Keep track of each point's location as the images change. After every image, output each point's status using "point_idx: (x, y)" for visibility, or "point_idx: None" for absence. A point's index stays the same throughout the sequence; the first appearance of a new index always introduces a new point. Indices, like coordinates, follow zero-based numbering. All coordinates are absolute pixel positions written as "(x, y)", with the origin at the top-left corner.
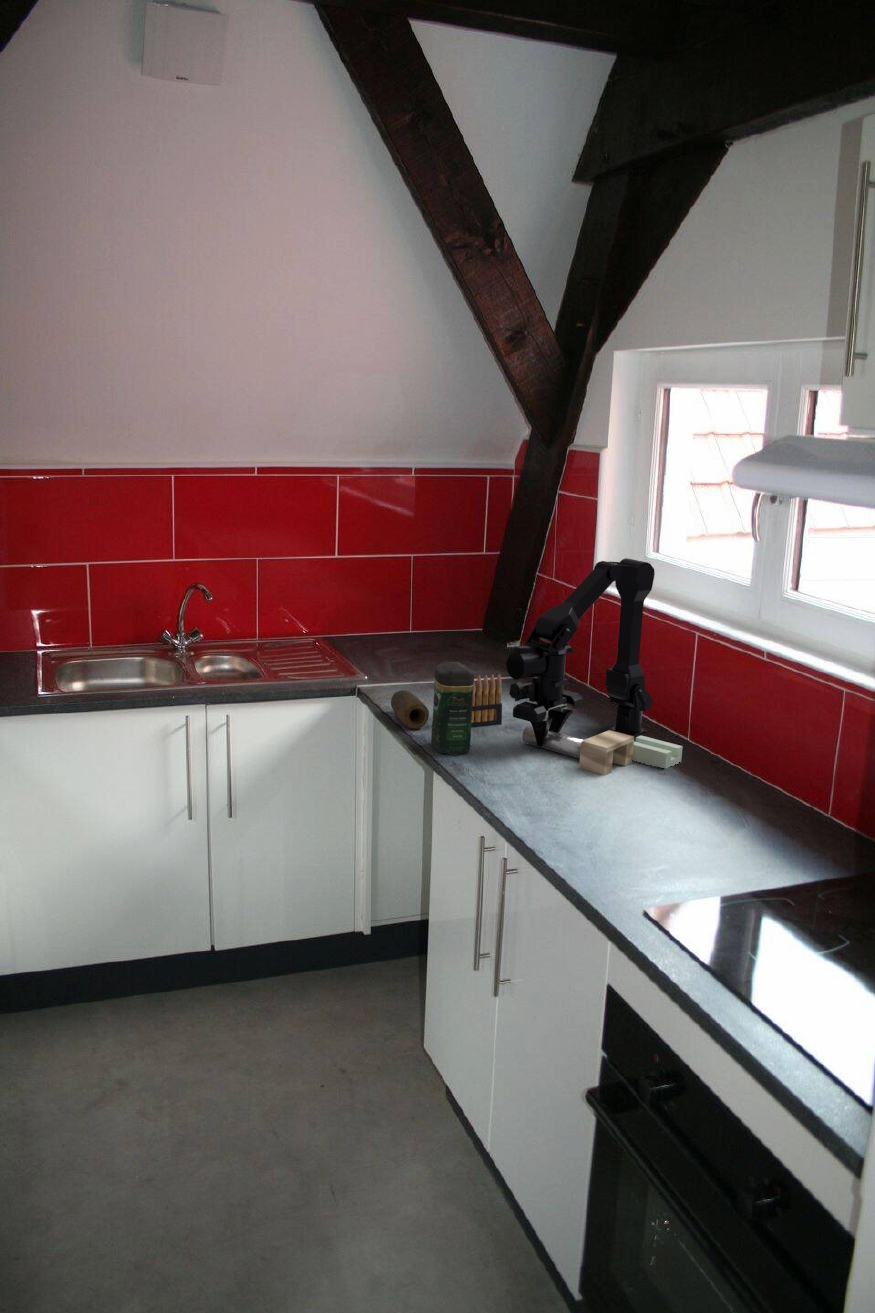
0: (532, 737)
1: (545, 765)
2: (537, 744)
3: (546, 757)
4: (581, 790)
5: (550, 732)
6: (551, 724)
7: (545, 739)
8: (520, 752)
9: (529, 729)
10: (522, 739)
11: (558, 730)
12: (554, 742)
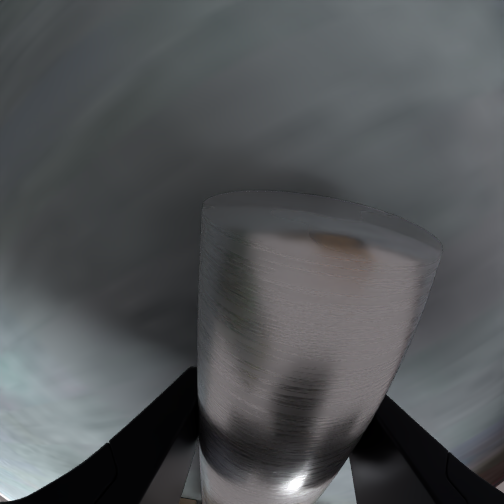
0: (197, 347)
1: (62, 419)
2: (185, 371)
3: (135, 410)
4: (47, 479)
5: (256, 500)
6: (399, 498)
7: (200, 450)
8: (73, 270)
9: (243, 329)
10: (222, 195)
11: (357, 500)
12: (202, 481)
